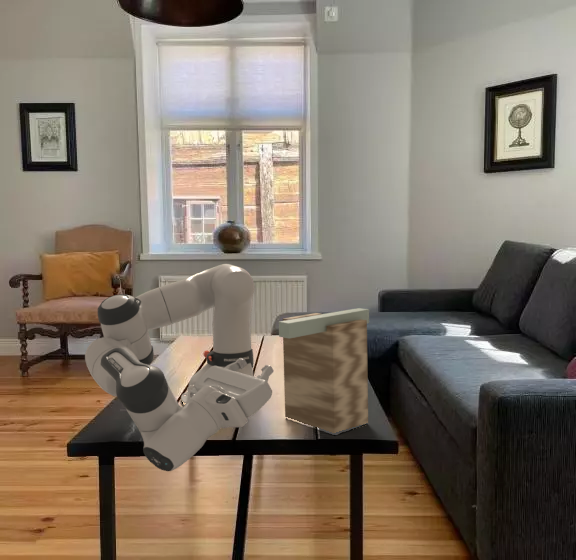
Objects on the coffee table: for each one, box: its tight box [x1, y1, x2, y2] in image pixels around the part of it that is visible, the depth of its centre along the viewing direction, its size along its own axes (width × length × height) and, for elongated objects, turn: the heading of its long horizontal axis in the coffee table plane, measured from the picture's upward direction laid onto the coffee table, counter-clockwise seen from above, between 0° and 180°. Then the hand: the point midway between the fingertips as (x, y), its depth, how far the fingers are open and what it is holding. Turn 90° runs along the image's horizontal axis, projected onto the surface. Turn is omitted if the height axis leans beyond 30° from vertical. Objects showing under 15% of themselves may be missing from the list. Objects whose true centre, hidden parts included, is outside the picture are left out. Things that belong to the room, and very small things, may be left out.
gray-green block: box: [278, 307, 370, 339], centre depth 150 cm, size 27×4×4 cm, turn 131°
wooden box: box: [282, 312, 369, 433], centre depth 157 cm, size 12×18×26 cm, turn 41°
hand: (256, 364), depth 136 cm, fingers open, 8 cm apart
